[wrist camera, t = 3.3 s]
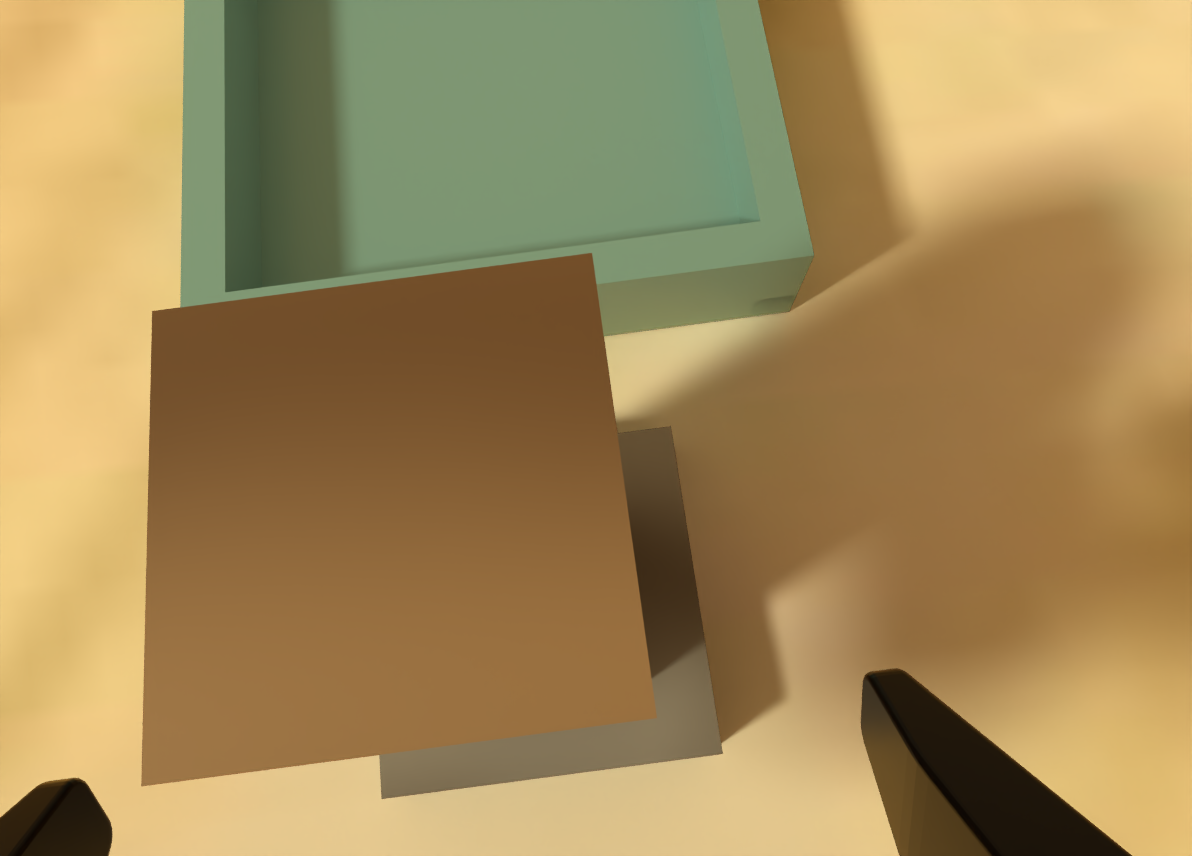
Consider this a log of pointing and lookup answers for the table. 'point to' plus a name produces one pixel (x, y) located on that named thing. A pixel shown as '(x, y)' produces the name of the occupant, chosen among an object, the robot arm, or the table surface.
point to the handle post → (413, 540)
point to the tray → (490, 150)
